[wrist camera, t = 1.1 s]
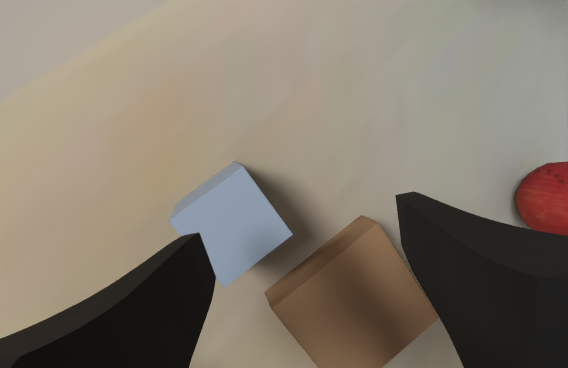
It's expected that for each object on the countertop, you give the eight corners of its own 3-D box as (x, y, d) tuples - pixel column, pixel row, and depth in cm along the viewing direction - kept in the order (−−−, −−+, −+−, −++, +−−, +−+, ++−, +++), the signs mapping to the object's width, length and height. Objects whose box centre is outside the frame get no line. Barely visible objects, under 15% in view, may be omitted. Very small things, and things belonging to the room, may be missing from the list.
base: (331, 375, 25) (344, 400, 23) (264, 292, 23) (271, 309, 21) (417, 301, 26) (439, 316, 24) (361, 215, 24) (378, 222, 22)
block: (219, 253, 22) (224, 288, 17) (177, 202, 21) (168, 221, 16) (272, 213, 23) (292, 234, 17) (233, 161, 22) (243, 166, 16)
